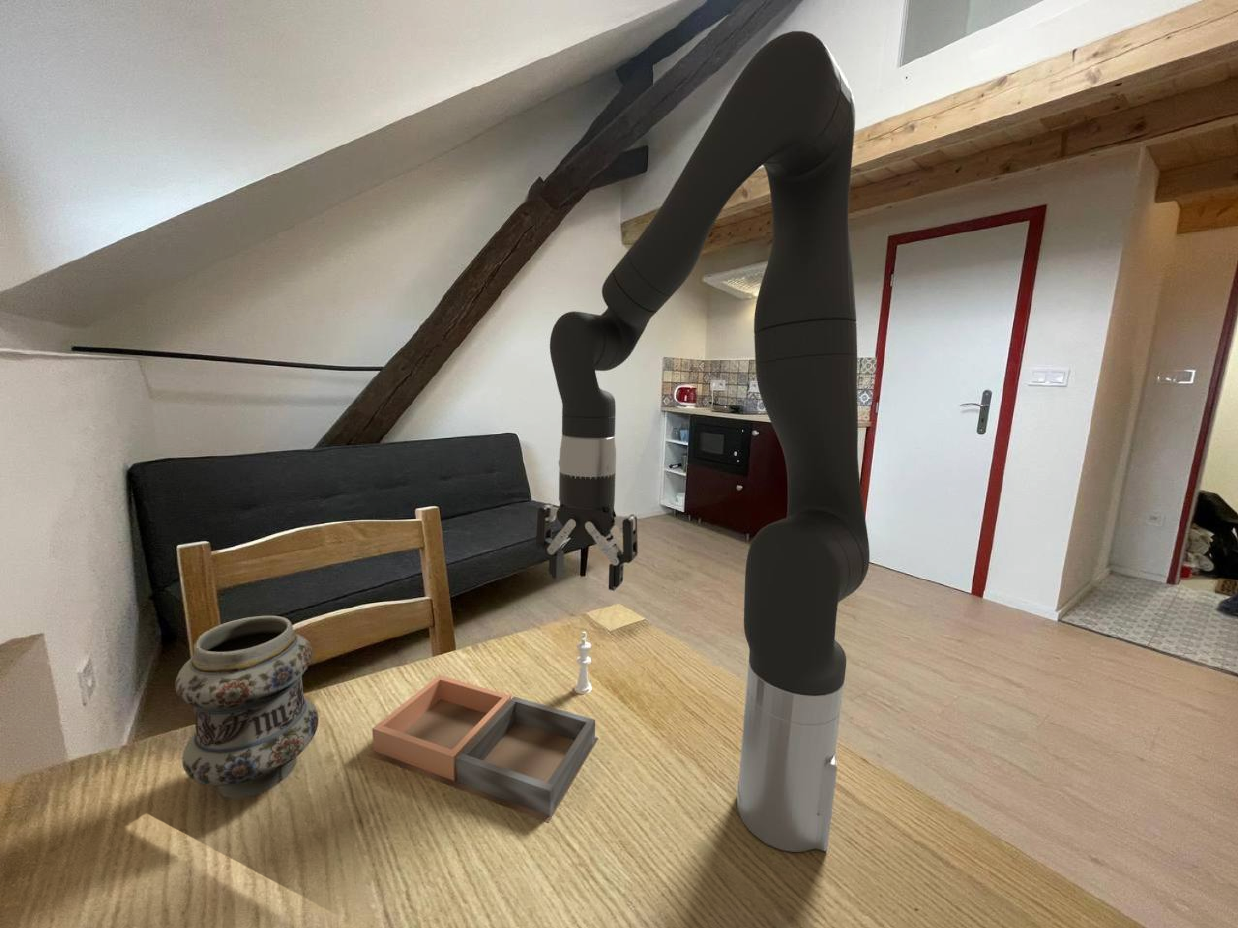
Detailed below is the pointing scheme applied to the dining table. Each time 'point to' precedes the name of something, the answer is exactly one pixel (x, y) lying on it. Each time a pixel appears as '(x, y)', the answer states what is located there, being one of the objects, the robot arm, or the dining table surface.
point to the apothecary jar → (247, 705)
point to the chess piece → (583, 666)
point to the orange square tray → (409, 747)
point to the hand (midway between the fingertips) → (585, 582)
